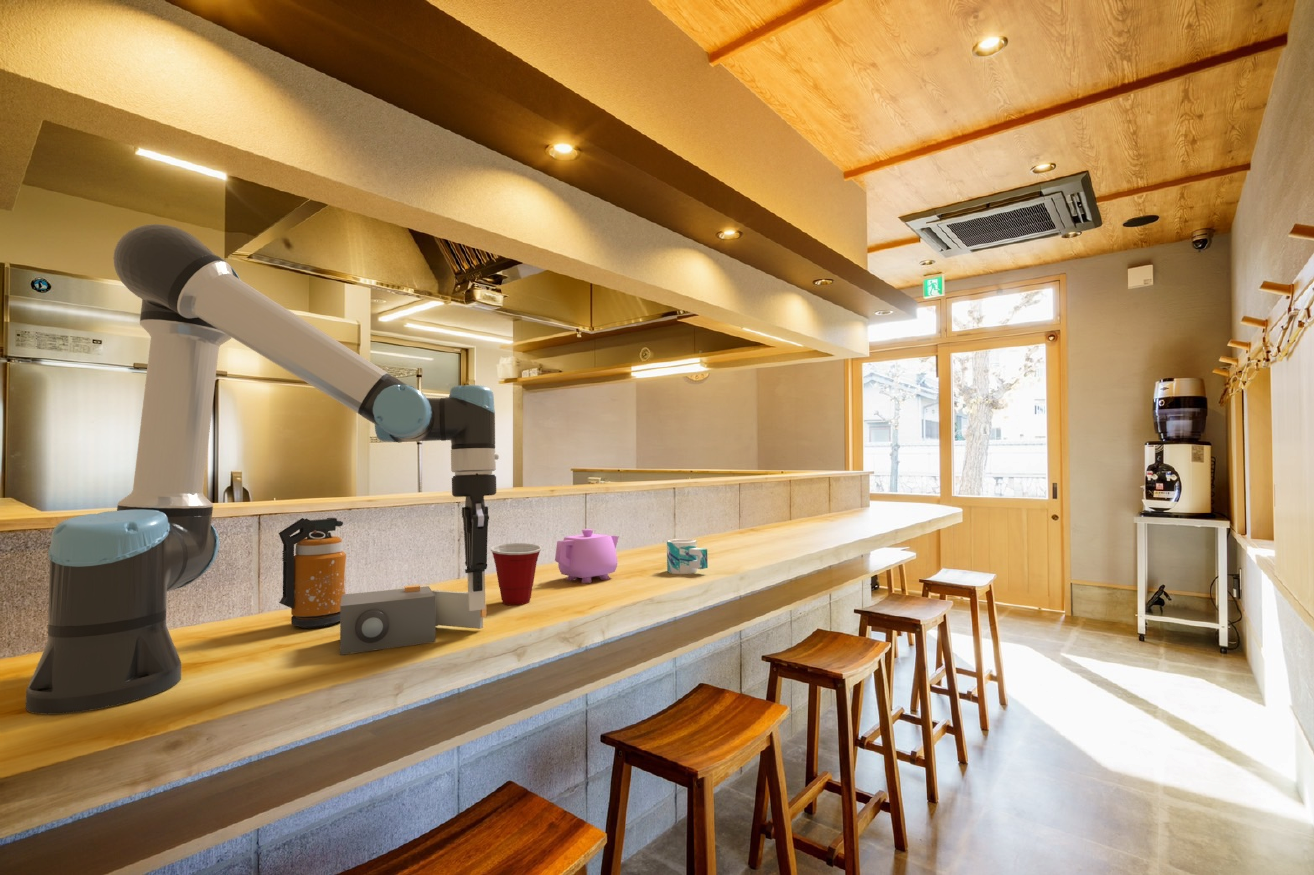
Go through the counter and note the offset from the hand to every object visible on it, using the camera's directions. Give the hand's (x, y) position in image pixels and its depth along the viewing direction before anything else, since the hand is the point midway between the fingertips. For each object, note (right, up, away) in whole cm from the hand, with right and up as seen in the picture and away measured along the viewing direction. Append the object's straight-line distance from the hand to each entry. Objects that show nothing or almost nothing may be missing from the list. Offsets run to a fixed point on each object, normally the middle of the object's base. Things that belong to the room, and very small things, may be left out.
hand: (476, 609), depth 106 cm
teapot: (+14, -7, +51) cm, 53 cm away
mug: (+40, -6, +57) cm, 70 cm away
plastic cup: (+1, -6, +24) cm, 25 cm away
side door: (-4, -4, +3) cm, 7 cm away
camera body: (-14, -4, -4) cm, 15 cm away
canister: (-33, -5, +8) cm, 34 cm away
